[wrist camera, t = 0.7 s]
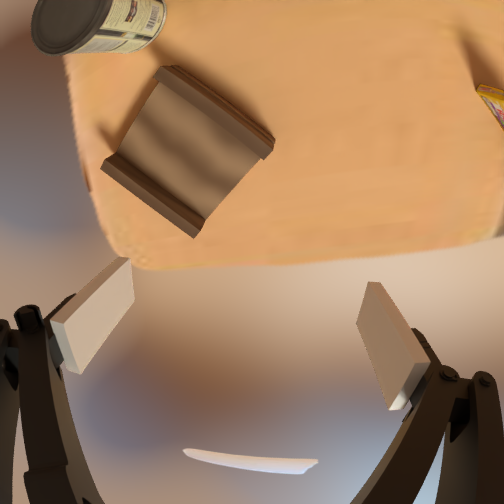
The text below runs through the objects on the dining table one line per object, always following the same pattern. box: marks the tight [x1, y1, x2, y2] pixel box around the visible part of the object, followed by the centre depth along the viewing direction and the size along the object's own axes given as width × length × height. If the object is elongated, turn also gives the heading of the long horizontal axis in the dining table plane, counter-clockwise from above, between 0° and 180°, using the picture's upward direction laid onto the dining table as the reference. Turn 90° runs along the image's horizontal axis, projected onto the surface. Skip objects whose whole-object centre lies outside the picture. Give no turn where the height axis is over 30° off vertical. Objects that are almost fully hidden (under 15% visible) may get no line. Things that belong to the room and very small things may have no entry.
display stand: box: [100, 65, 275, 239], centre depth 34 cm, size 16×16×5 cm
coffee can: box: [31, 0, 167, 56], centre depth 20 cm, size 10×10×14 cm
